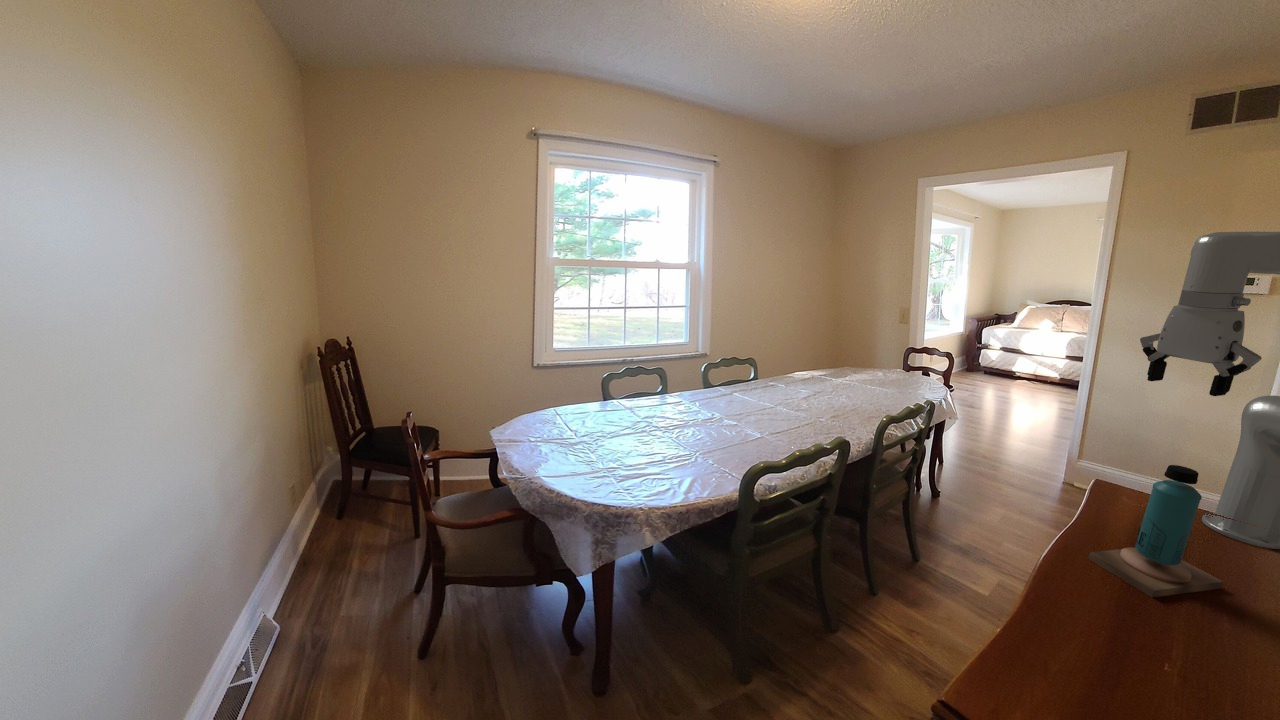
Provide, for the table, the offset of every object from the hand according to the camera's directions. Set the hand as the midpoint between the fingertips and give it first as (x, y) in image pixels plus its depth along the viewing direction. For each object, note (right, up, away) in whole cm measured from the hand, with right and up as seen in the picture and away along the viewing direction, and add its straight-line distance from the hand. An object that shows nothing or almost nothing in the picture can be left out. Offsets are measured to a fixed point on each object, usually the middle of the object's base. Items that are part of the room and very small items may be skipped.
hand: (1184, 387), depth 95 cm
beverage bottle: (-7, -34, -1) cm, 35 cm away
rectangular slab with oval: (-7, -36, -1) cm, 37 cm away
